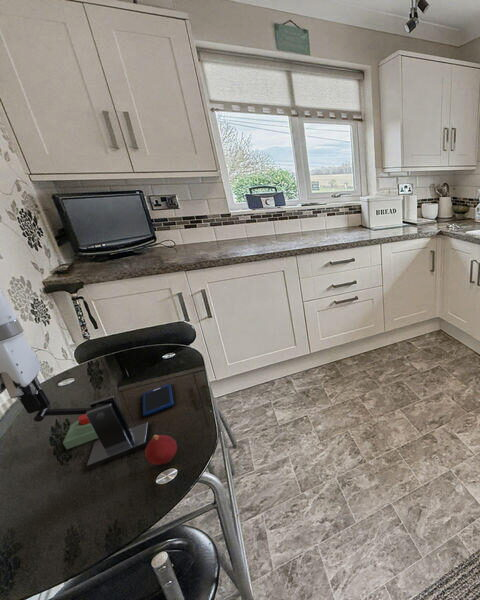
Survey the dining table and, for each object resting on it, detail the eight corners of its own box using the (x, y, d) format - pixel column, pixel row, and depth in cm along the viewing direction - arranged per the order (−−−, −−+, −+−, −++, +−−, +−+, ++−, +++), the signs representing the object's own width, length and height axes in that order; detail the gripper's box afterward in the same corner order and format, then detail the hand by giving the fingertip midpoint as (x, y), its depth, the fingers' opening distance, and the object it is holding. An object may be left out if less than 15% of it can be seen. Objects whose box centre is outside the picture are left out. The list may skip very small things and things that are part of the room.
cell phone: (171, 385, 105) (170, 383, 105) (174, 405, 95) (173, 403, 94) (143, 395, 101) (142, 393, 101) (143, 417, 91) (142, 415, 90)
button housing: (66, 449, 82) (59, 437, 80) (74, 431, 88) (68, 419, 87) (116, 431, 87) (110, 419, 85) (120, 415, 93) (115, 403, 92)
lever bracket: (88, 469, 75) (63, 425, 70) (96, 445, 82) (74, 404, 78) (146, 446, 80) (126, 404, 76) (149, 425, 87) (131, 386, 83)
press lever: (32, 424, 69) (34, 413, 69) (40, 411, 73) (42, 401, 73) (108, 420, 76) (110, 410, 76) (111, 409, 80) (113, 400, 80)
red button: (79, 427, 84) (76, 422, 83) (82, 419, 87) (79, 414, 86) (97, 421, 85) (94, 415, 85) (99, 413, 88) (96, 408, 88)
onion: (151, 462, 75) (137, 435, 72) (179, 448, 78) (168, 421, 76) (153, 477, 71) (139, 449, 68) (183, 462, 74) (171, 434, 71)
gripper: (-15, 327, 69) (29, 399, 75) (-57, 355, 57) (0, 437, 63) (33, 317, 72) (71, 386, 79) (4, 340, 60) (52, 419, 67)
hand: (39, 408), depth 71 cm, fingers closed
